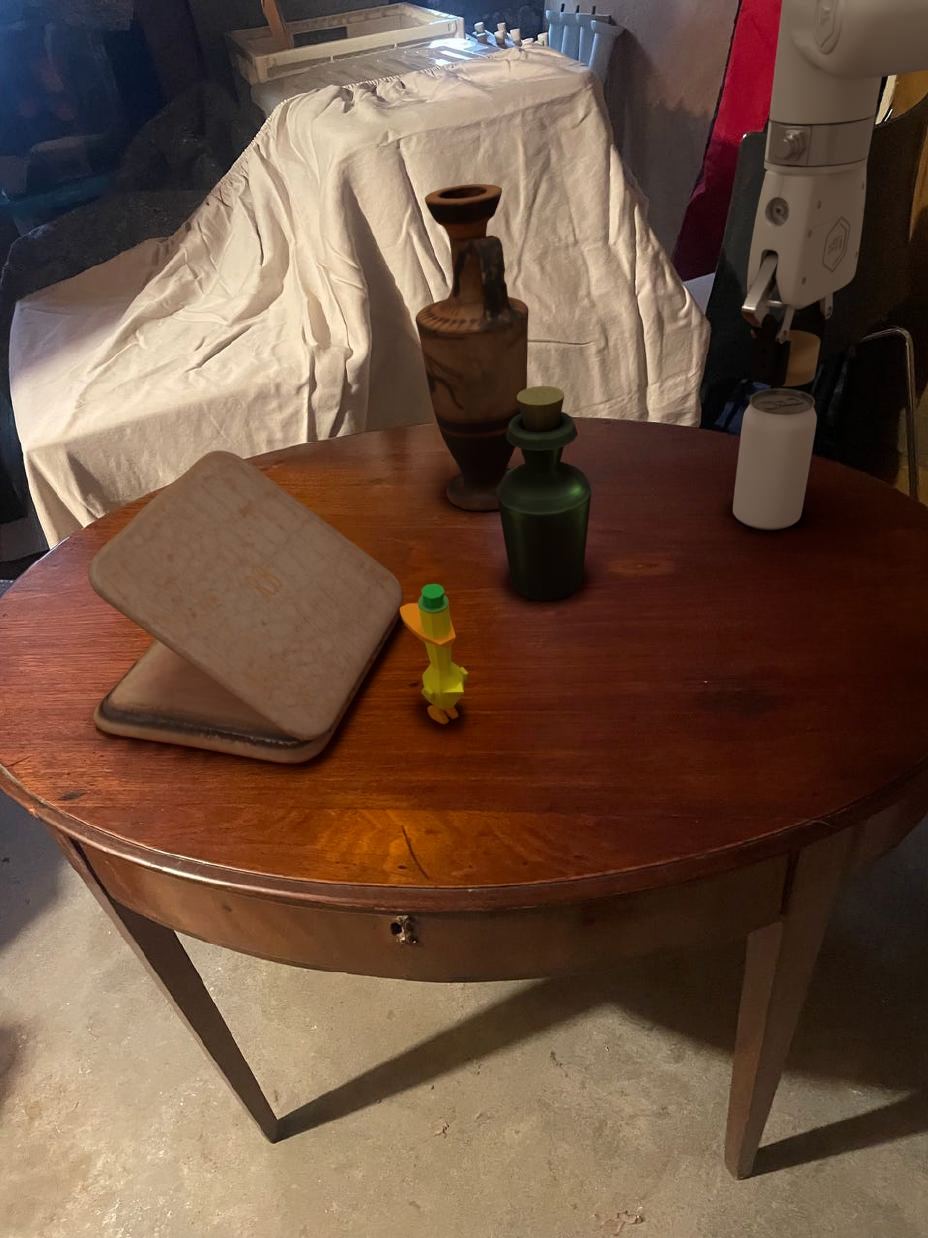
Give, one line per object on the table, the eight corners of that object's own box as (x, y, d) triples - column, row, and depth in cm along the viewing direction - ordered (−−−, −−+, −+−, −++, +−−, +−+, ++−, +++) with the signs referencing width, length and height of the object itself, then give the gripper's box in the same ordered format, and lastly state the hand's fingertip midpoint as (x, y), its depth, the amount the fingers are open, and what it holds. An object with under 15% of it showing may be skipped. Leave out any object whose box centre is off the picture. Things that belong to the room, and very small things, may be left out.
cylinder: (816, 365, 79) (821, 330, 77) (813, 388, 76) (819, 351, 74) (756, 362, 81) (760, 328, 79) (750, 384, 77) (754, 349, 75)
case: (321, 778, 63) (274, 596, 53) (80, 734, 69) (-2, 564, 59) (416, 612, 78) (392, 447, 69) (212, 588, 84) (164, 434, 75)
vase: (420, 486, 98) (383, 193, 80) (507, 460, 101) (490, 173, 83) (461, 528, 90) (430, 212, 72) (554, 499, 93) (546, 190, 75)
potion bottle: (603, 597, 78) (606, 405, 67) (515, 615, 77) (503, 423, 66) (575, 551, 84) (573, 369, 74) (493, 566, 83) (479, 385, 73)
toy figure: (399, 701, 69) (377, 574, 62) (435, 681, 71) (418, 555, 63) (449, 746, 64) (433, 615, 57) (487, 724, 66) (475, 593, 59)
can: (720, 506, 89) (732, 393, 82) (778, 494, 90) (795, 381, 82) (752, 537, 84) (767, 420, 76) (814, 524, 84) (834, 407, 77)
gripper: (803, 169, 61) (770, 415, 71) (917, 127, 69) (872, 352, 80) (710, 161, 65) (692, 394, 76) (828, 123, 74) (797, 336, 85)
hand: (785, 370), depth 78 cm, fingers closed on cylinder, 5 cm apart
